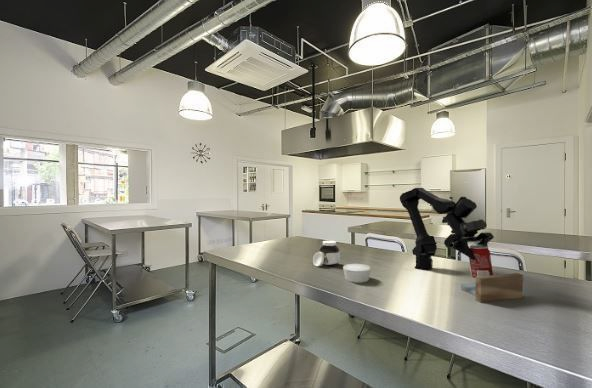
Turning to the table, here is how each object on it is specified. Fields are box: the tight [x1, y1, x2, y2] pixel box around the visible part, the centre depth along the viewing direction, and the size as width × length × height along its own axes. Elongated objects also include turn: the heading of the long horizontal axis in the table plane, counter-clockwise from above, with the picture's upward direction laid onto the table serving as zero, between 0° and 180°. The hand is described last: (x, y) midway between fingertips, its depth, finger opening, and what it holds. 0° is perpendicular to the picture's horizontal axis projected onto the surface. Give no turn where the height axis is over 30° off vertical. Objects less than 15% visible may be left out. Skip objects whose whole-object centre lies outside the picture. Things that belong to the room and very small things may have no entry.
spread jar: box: [312, 240, 341, 268], centre depth 136 cm, size 12×11×12 cm
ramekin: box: [342, 263, 371, 284], centre depth 114 cm, size 11×11×5 cm
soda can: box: [468, 244, 494, 280], centre depth 102 cm, size 7×7×12 cm
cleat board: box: [460, 272, 524, 303], centre depth 99 cm, size 12×18×8 cm, turn 103°
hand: (482, 258), depth 100 cm, fingers closed on soda can, 6 cm apart
